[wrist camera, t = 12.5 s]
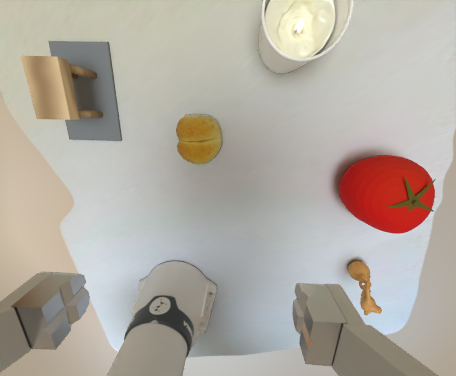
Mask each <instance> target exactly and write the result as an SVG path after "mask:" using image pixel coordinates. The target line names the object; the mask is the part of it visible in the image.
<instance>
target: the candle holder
mask: <svg viewBox="0 0 456 376" xmlns="http://www.w3.org/2000/svg"><path fill="white" fill-rule="evenodd" d="M353 3H354V0H263V2H262V11H261V24H260V33H259V44H258V47H259V54H260V58H261V60H262V62H263V63H264V65H265V66H266V67H267V68H268V69H269V70H271V71H273V72H276V73H289V72H292V71H294V70H296V69H298V68H300V67H301V66H303V65H305V64H307V63H309V62H310V61H312V60H314V59H316V58H319V57H321V56H323V55H324V54H326V53H327V52H328V51H330V50H331V49H332V48H333V47H334V46H335V45H336V44H337V43H338V42H339V40H340V39H341V38H342V36H343V34H344V33H345V31H346V29H347V27H348V24H349V22H350V19H351V15H352V11H353Z"/></svg>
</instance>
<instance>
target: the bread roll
mask: <svg viewBox="0 0 456 376" xmlns="http://www.w3.org/2000/svg"><path fill="white" fill-rule="evenodd" d="M176 132H177V136H178V138H179V142H178V145H177V149H178V152H179V154H180V155H181V156H182V157H183V158H184V159H185V160H186V161H188V162H191V163H193V164H204V163H207V162H209V161H211V160H212V159H213V158H214V157H215V156H216V155H217V154H218V152H219V150H220V148H221V144H222V138H221V129H220V126H219V124H218V122H217V121H216V119H214V118H212V117H211V116H209V115H202V114H193V115H191V114H189V115H187V114H186V115H185V116H184V117H183V118H181V119H180V121H179V122H178V125H177V129H176Z"/></svg>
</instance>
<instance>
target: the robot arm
mask: <svg viewBox="0 0 456 376" xmlns="http://www.w3.org/2000/svg"><path fill="white" fill-rule="evenodd" d="M85 283H86V280H85V277H84V275H82V274H75V273H61V272H40V273H38V274H36V275H35V276H33V277H32V278H31V279H29V280H28V281H27V282H25V283H24V284H23V285H22V286H21V287H19V288H18V289H17V290H15V291H14V292H12V293H11V294H10V295H8V296H7V297H6V298H4V299H3V300H2V301H1V302H0V372H1V371H3V370H5V369H6V368H7V367H9V366H10V365H11V364H12V363H14V362H15V361H17V360H18V359H20V358H21V357H22V356H24V355H25V354H26V353H28V352H29V351H30V350H31V349H57V347H58V346H59V345H60V344H61V342H62V341H63V340H64V339H65V337H66V336H67V335H68V333H69V332H70V331H71V324H73V323H74V322H76V321H78V320H79V319H80V318H81V317H82V316H83V314H84V313H85V312H86V309H87V307H88V304H89V298H90V296H89V292H88V291H87V290H86V289H85V288H84V285H85ZM138 289H139V291H140V292H139V294H138V297H137V299H136V301H135V303H134V305H133V308H132V311H131V313H132V315H133V319H132V320H131V322H130V324H129V326H128V328H127V331H126V334H125V338H124V343H123V345H122V347H121V348H120V350H119V352H118V355H117V356H116V358H115V360H114V362H113V364H112V366H111V368H110V370H109V372H108V374H107V376H182V375H183V370H184V364H185V359H186V357H187V356H188V354H189V351H190V349H191V347H192V346H193V345H194V344H195V343H196V339H197V334H200V333H203V332H204V333H205V332H206V329H207V325H208V322H209V318H210V314H211V310H212V306H213V302H214V298H215V294H216V291H217V286H216V285H215V284H214V283H213V282H211V281H209V280H207V279H206V278H205V277H204V275H203V274H202V273H201V272H200V271H199V270H198V269H197V268H195V267H194V266H192V265H190V264H187V263H184V262H178V261H170V262H165V263H162V264H160V265H158V266H157V267H155V268H154V269H153V270H152V272H151V273H150V274H149V276H148V277H146V278H144V279H142V280H141V281H140V282H139V284H138ZM210 292H212V293H210ZM295 294H296V297H297V298H296V299H295V300H294V301H293V320H294V325H295V328H296V331H297V332H298V333H299V334H300V335H301V336H300V347H301V350H302V354H303V357H304V360H305V364H312V365H323V366H333V367H332V368H333V369H334V370H335V372H336V373H337V374H338V375H339V376H438V375H437V374H436V373H434V372H433V371H431V370H430V369H429V368H427V367H426V366H425V365H423V364H422V363H421V362H419V361H418V360H417V359H415V358H414V357H412V356H411V355H410V354H409V353H407V352H406V351H404V350H403V349H402V348H400V347H399V346H398V345H396V344H395V343H393V342H392V341H391V340H390V339H388V338H387V337H386V336H384V335H383V334H382V333H380V332H379V331H377V330H376V329H375V328H373V327H372V326H371V325H365V323H364V321H363V320H362V318H361V317H360V315H359V314H358V312H357V310H356V309H355V307H354V306H353V304H352V302H351V301H350V299H349V298H348V296H347V295H346V293H345V291H344V290H343V288H342V287H341V286H340V285H339V284H306V283H297V284H296V287H295Z"/></svg>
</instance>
